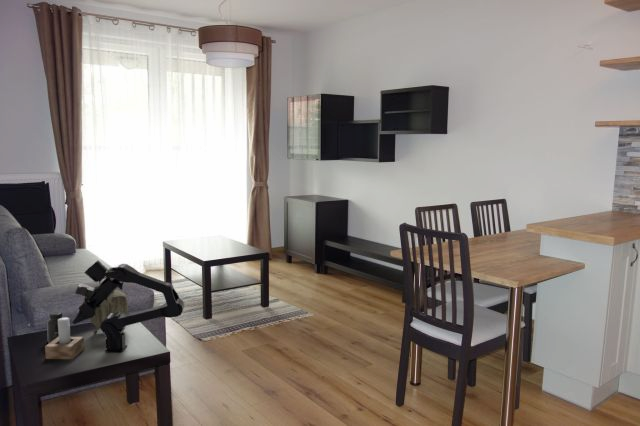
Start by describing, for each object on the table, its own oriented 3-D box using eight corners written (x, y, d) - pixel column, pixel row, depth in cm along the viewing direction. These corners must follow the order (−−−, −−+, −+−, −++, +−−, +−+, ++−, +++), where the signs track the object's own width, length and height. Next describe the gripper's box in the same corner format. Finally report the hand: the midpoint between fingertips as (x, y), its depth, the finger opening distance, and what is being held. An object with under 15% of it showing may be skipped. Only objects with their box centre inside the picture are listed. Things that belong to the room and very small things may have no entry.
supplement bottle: (58, 344, 210) (56, 316, 208) (44, 343, 211) (42, 315, 209) (70, 338, 216) (68, 310, 215) (55, 337, 218) (54, 309, 216)
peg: (73, 350, 201) (71, 318, 199) (63, 354, 198) (61, 321, 196) (67, 348, 203) (65, 316, 202) (57, 351, 200) (55, 319, 198)
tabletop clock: (122, 325, 232) (120, 271, 228) (130, 331, 225) (128, 275, 222) (89, 333, 222) (86, 277, 218) (97, 339, 215) (94, 281, 212)
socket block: (84, 348, 206) (83, 336, 205) (71, 359, 196) (71, 346, 195) (59, 348, 206) (58, 336, 205) (45, 358, 196) (45, 346, 195)
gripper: (92, 270, 208) (63, 299, 207) (84, 283, 190) (53, 314, 189) (113, 288, 211) (85, 316, 210) (107, 302, 193) (77, 332, 192)
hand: (75, 319), depth 200 cm, fingers open, 9 cm apart
